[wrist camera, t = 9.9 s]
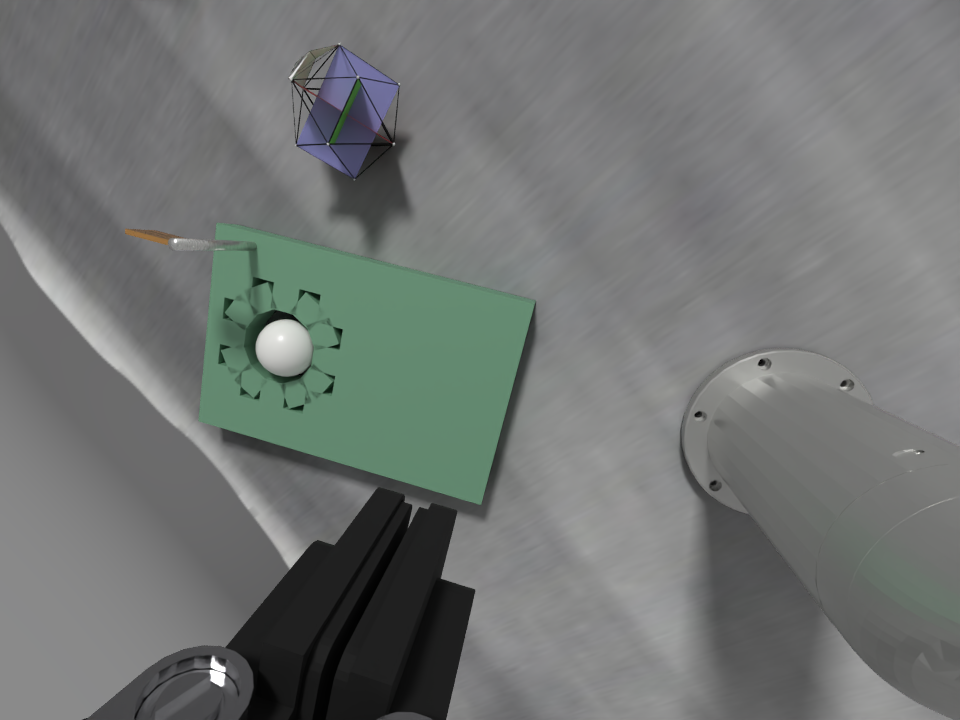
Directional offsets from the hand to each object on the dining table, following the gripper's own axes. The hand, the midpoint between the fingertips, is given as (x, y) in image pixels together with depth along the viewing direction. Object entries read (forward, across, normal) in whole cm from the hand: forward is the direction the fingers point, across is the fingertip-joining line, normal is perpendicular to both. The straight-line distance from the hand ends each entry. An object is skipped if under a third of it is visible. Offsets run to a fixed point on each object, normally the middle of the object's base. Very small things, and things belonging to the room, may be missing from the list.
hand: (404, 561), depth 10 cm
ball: (+25, +16, +5) cm, 30 cm away
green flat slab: (+27, +11, +5) cm, 30 cm away
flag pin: (+27, +21, -2) cm, 35 cm away
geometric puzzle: (+27, +14, -12) cm, 33 cm away
